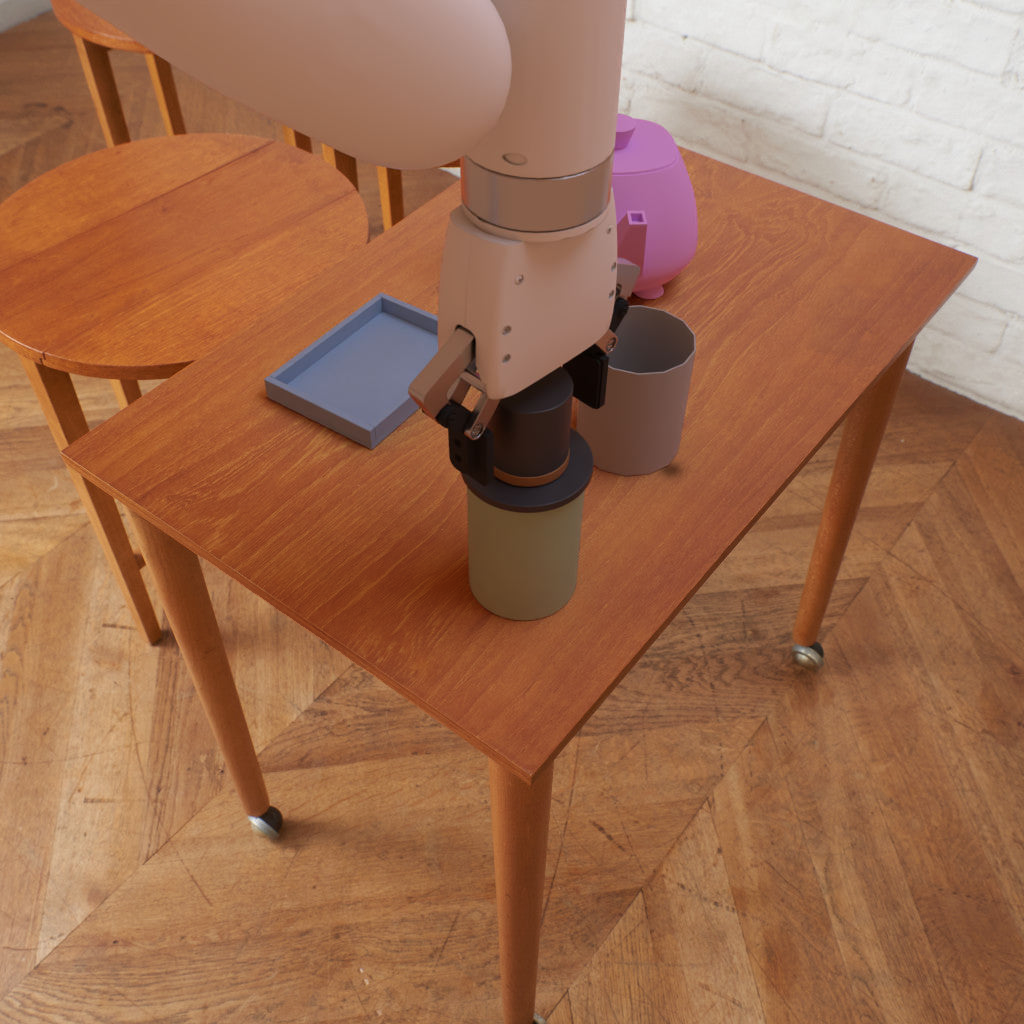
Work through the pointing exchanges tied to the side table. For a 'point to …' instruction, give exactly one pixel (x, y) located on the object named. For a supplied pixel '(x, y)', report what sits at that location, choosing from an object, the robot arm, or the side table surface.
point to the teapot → (652, 204)
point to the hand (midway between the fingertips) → (529, 433)
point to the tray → (360, 370)
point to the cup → (642, 394)
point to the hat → (536, 450)
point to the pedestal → (523, 558)
